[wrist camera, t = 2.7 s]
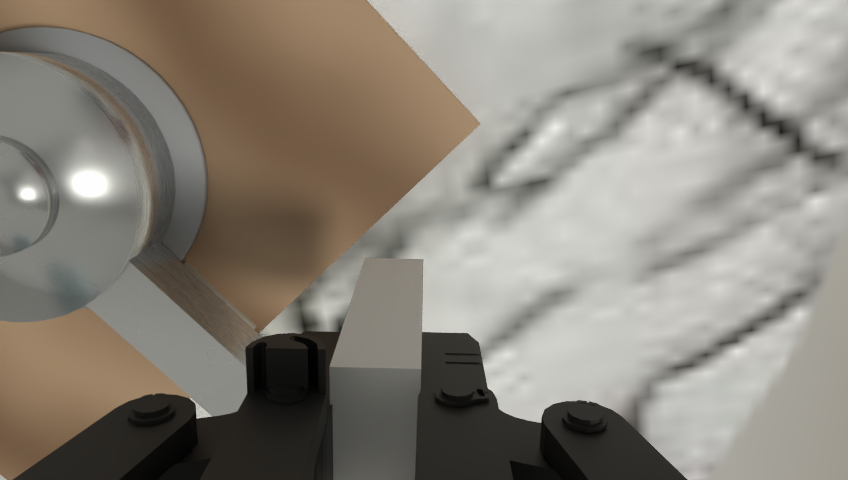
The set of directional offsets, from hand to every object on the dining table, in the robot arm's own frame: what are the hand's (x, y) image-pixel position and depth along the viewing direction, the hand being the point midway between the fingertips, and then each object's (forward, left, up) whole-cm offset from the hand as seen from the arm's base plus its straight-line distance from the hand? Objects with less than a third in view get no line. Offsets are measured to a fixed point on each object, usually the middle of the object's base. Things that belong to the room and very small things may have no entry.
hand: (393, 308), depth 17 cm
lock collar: (+5, -4, -3) cm, 7 cm away
